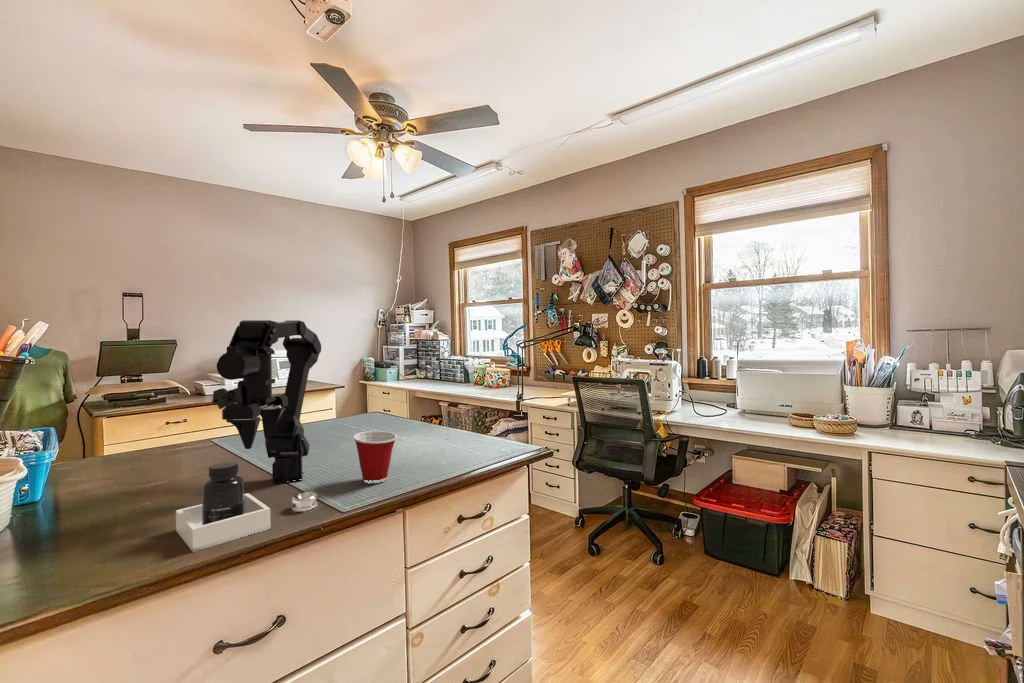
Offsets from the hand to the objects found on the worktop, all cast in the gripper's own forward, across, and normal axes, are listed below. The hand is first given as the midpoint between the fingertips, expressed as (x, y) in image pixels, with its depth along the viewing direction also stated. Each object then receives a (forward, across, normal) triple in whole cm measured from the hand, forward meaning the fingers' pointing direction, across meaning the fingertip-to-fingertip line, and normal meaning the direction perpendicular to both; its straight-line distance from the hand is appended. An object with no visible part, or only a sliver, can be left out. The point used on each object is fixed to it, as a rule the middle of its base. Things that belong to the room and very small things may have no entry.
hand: (258, 443), depth 102 cm
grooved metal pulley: (+13, +6, +12) cm, 19 cm away
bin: (+13, +16, 0) cm, 20 cm away
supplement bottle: (+13, +15, 0) cm, 20 cm away
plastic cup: (+13, -11, +24) cm, 29 cm away
